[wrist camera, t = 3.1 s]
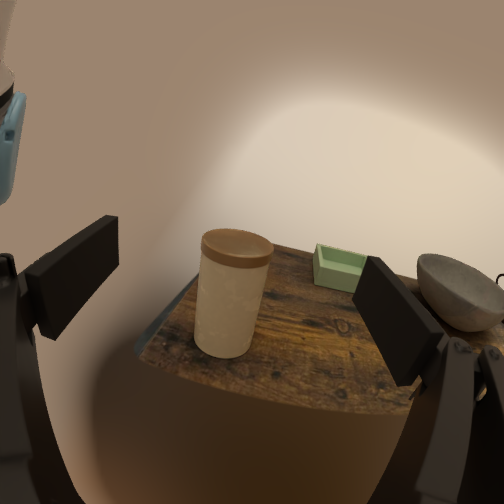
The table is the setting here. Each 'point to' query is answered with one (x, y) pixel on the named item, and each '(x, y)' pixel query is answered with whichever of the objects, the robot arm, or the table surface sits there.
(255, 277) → the tea tin
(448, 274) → the bowl
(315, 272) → the bin
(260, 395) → the table surface
